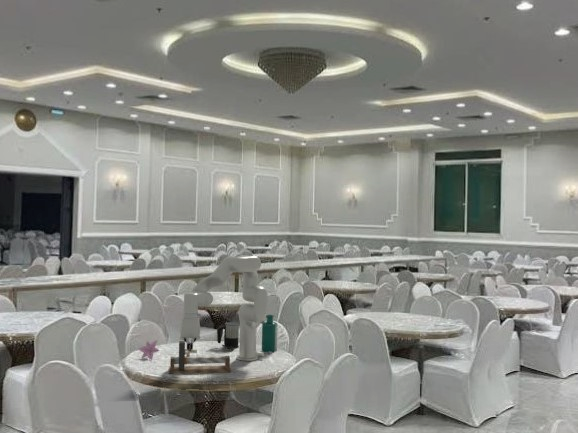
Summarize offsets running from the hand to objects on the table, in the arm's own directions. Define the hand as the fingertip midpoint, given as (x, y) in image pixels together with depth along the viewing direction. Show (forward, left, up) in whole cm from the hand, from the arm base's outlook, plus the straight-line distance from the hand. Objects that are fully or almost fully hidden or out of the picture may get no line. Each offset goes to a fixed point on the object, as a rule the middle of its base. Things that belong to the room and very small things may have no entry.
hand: (189, 350), depth 325 cm
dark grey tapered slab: (+4, 0, -9) cm, 10 cm away
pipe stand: (-6, 0, -11) cm, 12 cm away
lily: (+22, -31, -11) cm, 39 cm away
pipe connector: (0, -24, -11) cm, 26 cm away
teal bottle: (-49, -44, -11) cm, 66 cm away
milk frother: (-26, -52, -11) cm, 59 cm away
